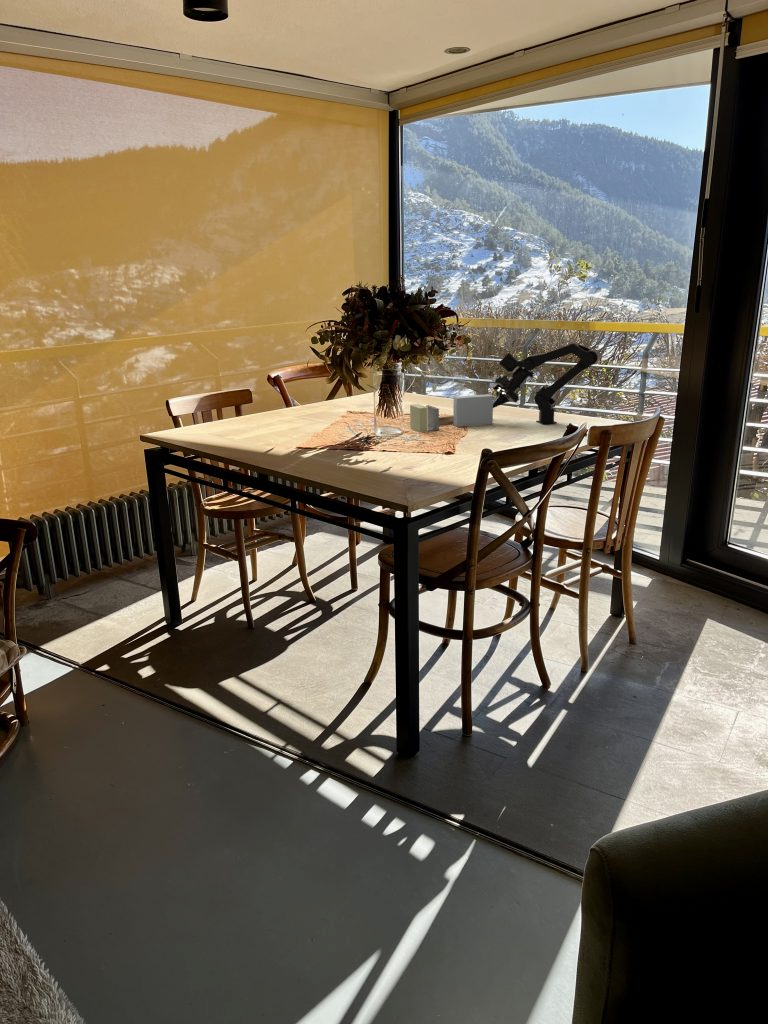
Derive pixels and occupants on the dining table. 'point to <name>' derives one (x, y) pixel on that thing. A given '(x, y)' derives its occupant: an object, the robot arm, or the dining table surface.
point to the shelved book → (419, 417)
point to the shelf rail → (445, 420)
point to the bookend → (433, 418)
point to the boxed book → (473, 410)
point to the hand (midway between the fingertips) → (491, 407)
